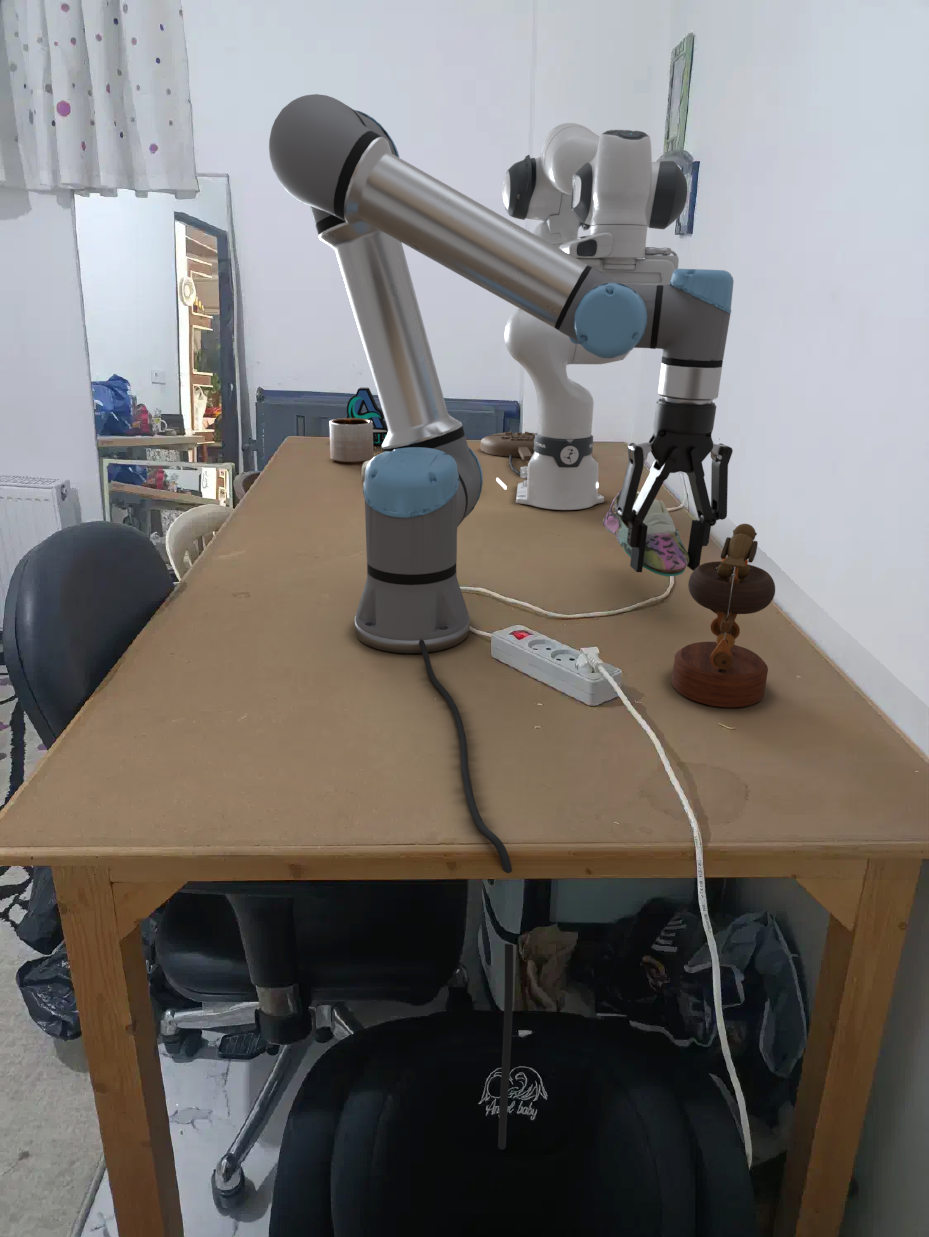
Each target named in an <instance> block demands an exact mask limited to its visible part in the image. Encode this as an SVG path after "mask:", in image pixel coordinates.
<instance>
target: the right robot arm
mask: <svg viewBox="0 0 929 1237" xmlns="http://www.w3.org/2000/svg"><path fill="white" fill-rule="evenodd" d="M652 152H653V150H652V141H651V136H650V135H649V134H647V133H646V132H644V131H640V130H629V129H609V130H606V131H604V132H602V133H601V134H600V135H599V134H597V133H595V132H594V131H592V129H590V128H588V127H586V126H584V125H582V124H579V123H575V122H565V123H560V124H558V125H556V126H554V127H553V128H552V129H551V130H549V131H548V132H547V134H546V136H545V137H544V139H543V141H542V145H541V150H540V156H539V157H531V155H530V154H527V155H525V157H524V159H522V160H520V161H517V162H515V163H513V164H512V165H511V166H510V167H509V168H508V169H507V171H506V174H505V176H504V178H503V183H502V187H501V188H502V189H501V193H502V194H501V197H502V201H503V205H504V210H505V211H506V213H507V214H508V216H509V217H511V218H514V219H518V220H522V221H525V219H527V220H533V221H539V222H540V221H542V222H540V223H539V224H538V225H536V226H535V228H534V229H533V231H532V233H533V234H534V235H536V236H538V237H540V238H541V239H543V240H545V241H547V242H549V243H550V244H552V245H554V246H556V247H557V248H559V249H561V250H563V251H564V252H566V253H568V254H570V255H571V256H573V257H575V258H577V259H579V260H580V261H582V262H584V263H586V264H587V265H588V266H590V267H592V268H594V269H596V270H598V271H600V272H602V273H603V274H605V275H607V276H609V277H610V278H612V279H614V280H616V281H618V282H619V283H624V284H640V285H655V286H657V285H669V283H670V280H671V278H672V273H673V272H674V271H675V270H676V269H679V260H680V259H679V256H678V254H677V253H676V252H675V250H672V248H670V247H654V246H653V247H651V246H647V236H648V229H655V230H665V229H667V228H668V227H669V226H671V225H672V224H673V223H674V222H675V221H676V220H677V219H678V218H679V217H680V216H681V215H682V213H683V211H684V209H685V206H686V204H687V198H688V181H687V178H686V175H685V174H684V172H683V170H682V169H681V168H680V166H679V165H678V164H677V163H676V162H675V161H674V160H660V161H653V155H652V154H653V153H652ZM580 227H581V229H582V230H583V231H588V230H589V233H588V235H583V236H579V229H580ZM671 254H672V255H671ZM504 344H505V347H506V349H507V351H508V353H509V355H510V356H511V357H512V358H513V359H514V361H516V362H517V363H518V364H520V366H522V368H523V369H524V370H525V371H526V373H527V374H528V375H529V377H530V379H531V381H532V383H533V386H534V389H535V393H536V399H537V400H536V401H537V403H536V404H537V430H536V431H537V432H535V433H536V434H535V439H534V451H535V452H534V454H533V456H532V457H531V459H530V461H528V463H527V466H526V465H525V466H521V467H520V470H518V469H516V468H515V466H514V463H513V457H512V454H510V456H508V458H509V461H508V463H509V467H510V469H511V471H512V472H513V473H515V474H516V475H518V476H519V477H520V479H523V481H522V482H519V483H518V484H517V487H516V496H515V503H516V504H521V505H527V506H533V507H536V508H541V509H546V510H555V511H556V510H557V511H574V510H584V509H588V508H591V507H593V506H595V505H597V504H601V503H602V504H603V503H604V502H605V496H603V495H601V494H600V493H599V463H598V462H597V461H596V459H594V458H593V456H592V454H593V450H594V449H593V448H594V435H592V432H593V420H594V419H593V418H594V406H595V405H594V404H595V403H594V402H595V401H594V396H593V395H592V393H591V392H590V390H588V388H586V387H584V386H583V385H582V384H580V383H578V382H577V381H575V380H572V379H570V378H569V375H568V373H567V366H569V365H605V364H610V363H615V362H619V361H623V360H625V359H626V358H627V357H628V355H629V354H630V353H631V351H629V352H628V353H626V354H624V355H621V356H617V357H614V358H601V357H598V356H596V355H594V354H592V353H590V352H588V351H587V350H585V349H584V348H583V346H582V345H581V344H574V343H572V342H571V340H570V338H569V337H568V336H567V335H565V334H563V333H561V332H560V331H559V330H557V329H555V328H554V327H552V326H550V325H548V324H546V323H545V322H543V321H541V320H539V319H538V318H536V317H534V316H532V315H530V314H529V313H527V312H525V311H523V310H521V309H520V308H516V310H514V311H513V312H512V313H511V315H510V316H509V318H508V319H507V322H506V324H505V328H504ZM524 479H526V480H524ZM495 480H496V482H497V483H498V484H499V485H500V486H501V487H502V489H504V490H508V489H507V487H508V486H507V485H506V484H505V483H504V482H503V481H502V480H501V479H500V478H499V477H496V479H495Z"/></svg>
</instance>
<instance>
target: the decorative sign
mask: <svg viewBox="0 0 929 1237" xmlns="http://www.w3.org/2000/svg"><path fill="white" fill-rule="evenodd" d="M364 407H365V410H366V411H362V410H363V408H364ZM345 418H362V419H368V420H371V421H372V425H373V446H374V445H375V446H377V445H378V446H380V445H381V446H382V444H383V442H384V440H385V438H386V436H387V433H388V428H387V424H386V421H385V418H384V414H383V411H382V408H380V407H378V404H377V402H376V400H375V398H374V396H373V393H372V391H371V389H370V387H365V386H363V387H362V386H361V387H359V388H358V389H357V391H356V392H355V394H353V395H352V396H351V397H350V398H349V399H348V401H347V405H346V417H345ZM329 443H330V440H329Z"/></svg>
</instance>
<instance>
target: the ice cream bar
mask: <svg viewBox="0 0 929 1237" xmlns="http://www.w3.org/2000/svg"><path fill="white" fill-rule="evenodd" d="M536 433H537V432H529V431H524V432H517V431H516V432H513V431H508V432H505V431H504V432H497V433H493V434H490V435H486V436H483V438H482V439H481V440H480V448H479V449H480V451H481V452H483V453H486V454H488V455H493V456H500V457H509V456H510V454H512V458H513V457H514V458H515V457H517V458H519V457H520V458H521V460H522V461H525V462H529V461H530V459H531V457H532V456H533V454H534V452H535V451H534V439H535V434H536Z"/></svg>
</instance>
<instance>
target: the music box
mask: <svg viewBox="0 0 929 1237" xmlns="http://www.w3.org/2000/svg"><path fill="white" fill-rule="evenodd" d="M757 535H758V534H757V532H756V529H755V528H754V526H752V525H751V524H749V523H740V524H739V525H737V526H736V527H735V528H734V529H733V530H732V536H731V537H730V536H727V537H726V538H725V541H724V543H723V547H722V550H721V553H720V559H722V560H720V561H719V560H718V561H717V560H716V561H709V562H705V563H702V564H700V566H698V567H697V568H696V569H695V570H694V571H693V570H692V572H691V574H690V576H689V578H688V583H687V585H688V591H689V594H690V596H691V598H692V599H693V600H694V601H695V602H696V603H697V604H698V605H700V606H702V607H703V608H705V609H708V610H709V611H711V612H712V613H714V614H715V615H716V616H717V617H716V618H714V619H713V620H712V621H711V622H710V631H711V633H712V634H713V635H714V636H716V639H715V641H699V642H693V643H689V644H687V645H685V646H684V647H682V648H681V649H679V650H677V651H676V653H674V659H673V665H672V674H671V684H672V687H673V688H674V689H675V691H677V692H678V693H679V694H680V695H682V696H683V697H685V698H687V699H689V700H692V701H694V702H696V703H700V704H703V705H706V706H707V705H708V706H713V707H719V708H720V707H721V708H743V707H748V706H752V705H755V704H757V703H759V702H760V701H761V700H762V699H763V698H764V695H765V690H766V685H767V678H768V672H769V667H768V664H767V663H766V661H764V659H763V658H761V656H760V655H759V654H757V653H756V652H755V651H752V650H750V649H748V648H746V647H743V646H741V645H738V644H737V645H736V644H735V643H736V639H737V638H739V635H740V633H741V629H740V626H739V624H738V623H737V622H736V619H737V617H738V616H737V615H748V614H756V613H758V612H760V611H762V610H764V609H766V608H767V607H768V606H769V605H770V604H771V603H772V601H773V600H774V597H775V595H776V584H775V580H774V579H773V577H772V576H771V575H770V573H769V572H768V571H766V570H764V568H763V569H762V568H761V567H758V566H755V565H752V563H753V562H754V560H755V557H756V554H757V550H758V540H755V539H756V537H757ZM749 563H750V564H749Z"/></svg>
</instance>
